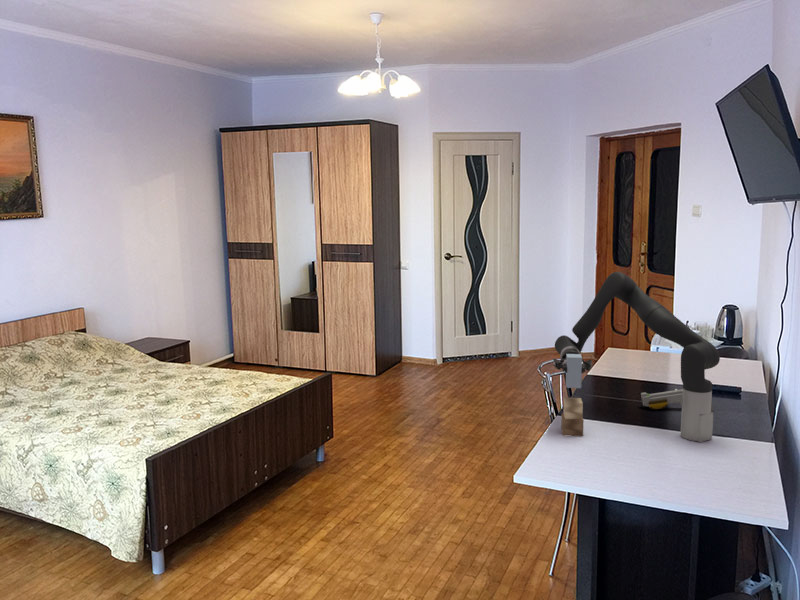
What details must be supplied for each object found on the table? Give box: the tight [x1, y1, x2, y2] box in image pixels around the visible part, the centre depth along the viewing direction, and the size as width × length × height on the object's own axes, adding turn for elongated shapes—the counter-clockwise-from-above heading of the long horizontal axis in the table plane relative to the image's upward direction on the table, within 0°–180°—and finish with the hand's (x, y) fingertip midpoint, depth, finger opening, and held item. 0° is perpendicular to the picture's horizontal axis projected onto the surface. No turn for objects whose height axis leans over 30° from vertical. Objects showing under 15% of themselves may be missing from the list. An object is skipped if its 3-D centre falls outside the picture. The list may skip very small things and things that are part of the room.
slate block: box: [565, 353, 583, 389], centre depth 233 cm, size 5×5×11 cm
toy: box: [640, 388, 714, 412], centre depth 258 cm, size 6×25×11 cm, turn 80°
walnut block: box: [560, 412, 584, 437], centre depth 236 cm, size 7×7×6 cm
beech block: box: [562, 397, 584, 420], centre depth 235 cm, size 6×6×6 cm
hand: (574, 370), depth 230 cm, fingers closed on slate block, 5 cm apart
